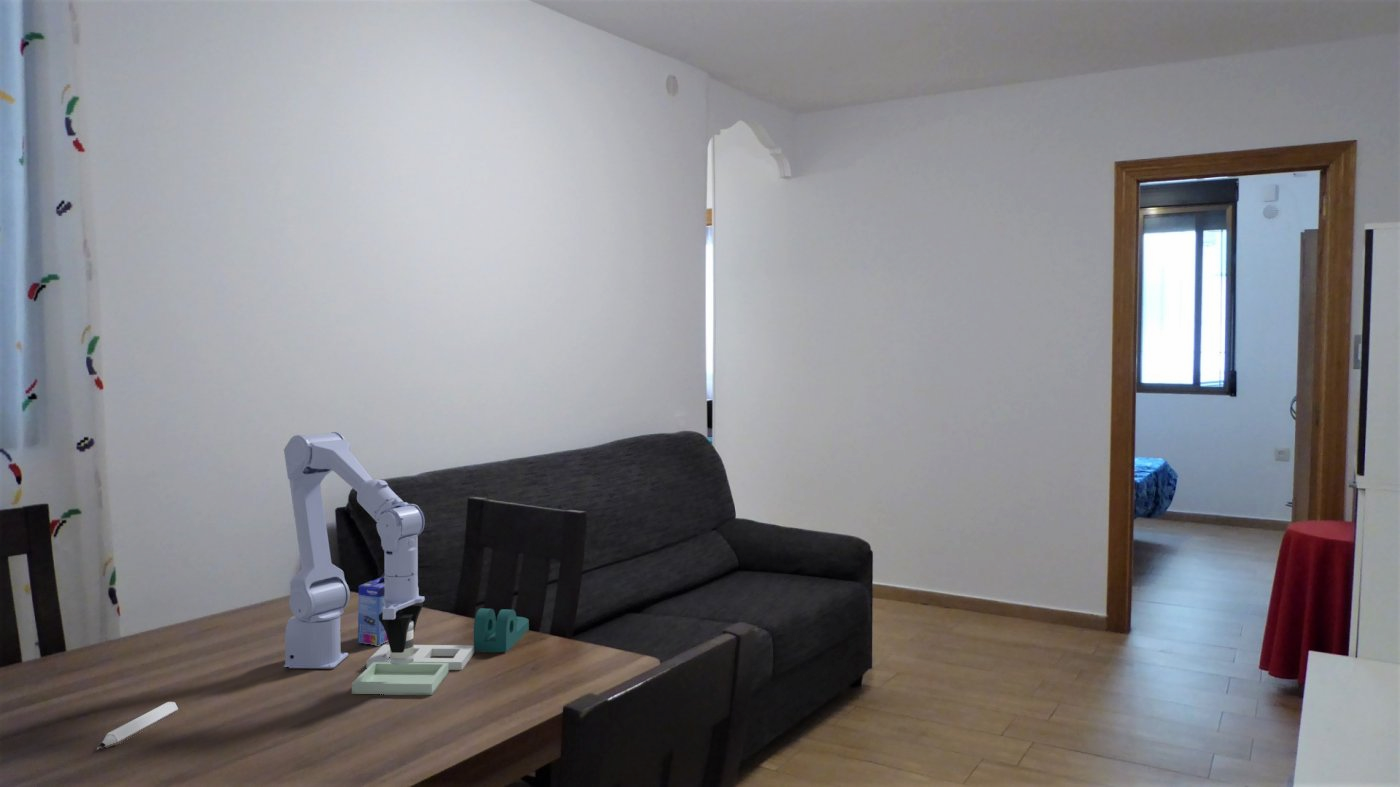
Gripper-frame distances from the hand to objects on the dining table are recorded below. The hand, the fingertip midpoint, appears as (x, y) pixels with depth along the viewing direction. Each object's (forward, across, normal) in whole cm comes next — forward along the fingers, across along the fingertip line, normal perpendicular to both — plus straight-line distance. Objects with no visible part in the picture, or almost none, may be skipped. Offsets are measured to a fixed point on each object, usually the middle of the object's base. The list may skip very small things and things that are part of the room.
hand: (401, 647), depth 170 cm
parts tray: (+7, 0, 0) cm, 7 cm away
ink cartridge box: (+7, +26, +12) cm, 29 cm away
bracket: (+7, +27, -13) cm, 31 cm away
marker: (+7, -22, +35) cm, 42 cm away
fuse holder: (+6, +12, 0) cm, 14 cm away
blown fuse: (+2, 0, 0) cm, 2 cm away
